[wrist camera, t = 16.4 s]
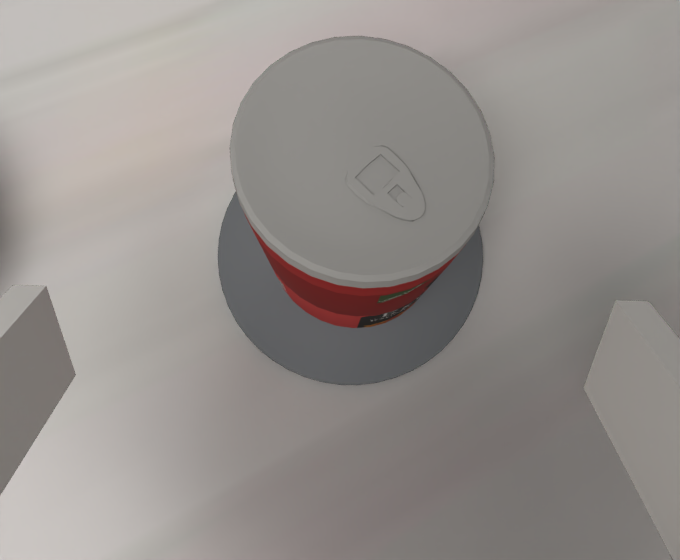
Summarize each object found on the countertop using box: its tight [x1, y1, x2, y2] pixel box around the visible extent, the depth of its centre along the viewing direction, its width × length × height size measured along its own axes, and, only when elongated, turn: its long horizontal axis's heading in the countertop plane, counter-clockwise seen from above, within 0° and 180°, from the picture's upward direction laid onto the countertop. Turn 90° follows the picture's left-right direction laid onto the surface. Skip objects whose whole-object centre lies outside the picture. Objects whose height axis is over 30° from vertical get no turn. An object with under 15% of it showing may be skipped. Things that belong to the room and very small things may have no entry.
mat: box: [218, 192, 483, 385], centre depth 26 cm, size 13×13×1 cm
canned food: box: [230, 36, 494, 328], centre depth 21 cm, size 8×8×11 cm
